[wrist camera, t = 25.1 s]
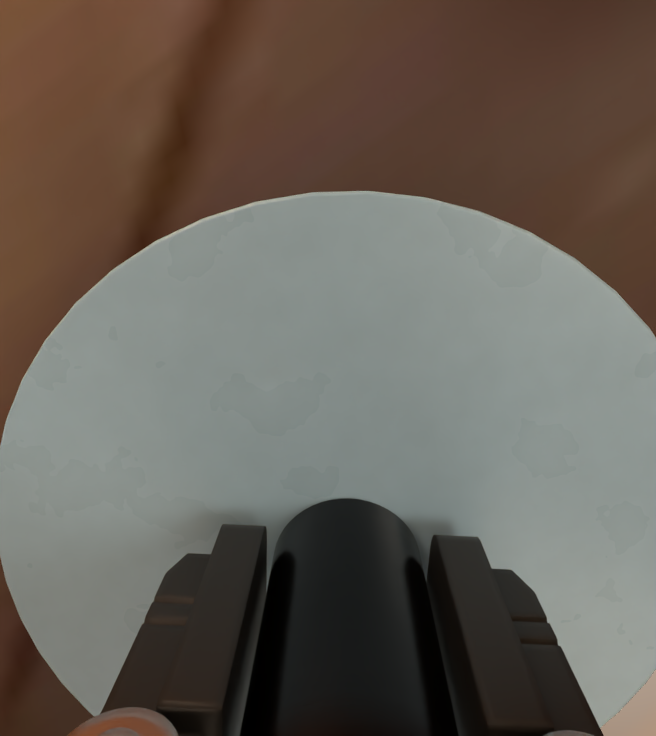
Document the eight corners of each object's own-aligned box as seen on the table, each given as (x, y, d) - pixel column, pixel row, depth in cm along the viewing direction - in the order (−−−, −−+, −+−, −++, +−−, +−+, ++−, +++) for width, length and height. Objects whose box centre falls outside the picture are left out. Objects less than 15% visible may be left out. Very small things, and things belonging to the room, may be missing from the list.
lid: (-18, 175, 9) (-631, 147, 3) (755, 206, 9) (1488, 237, 3) (61, 749, 13) (-166, 1199, 7) (607, 777, 13) (825, 1260, 7)
